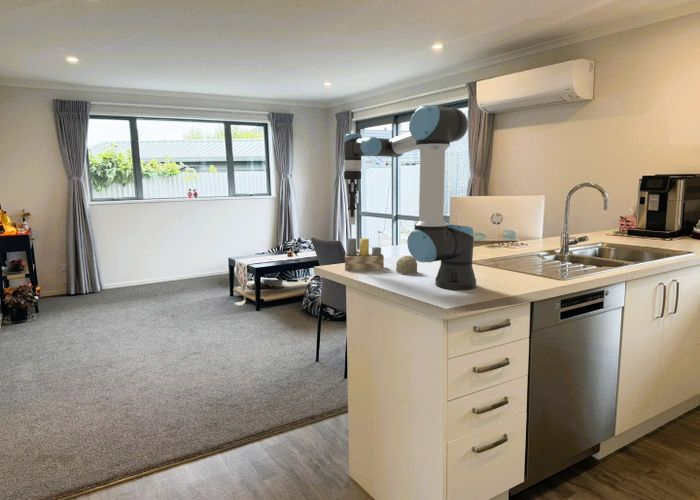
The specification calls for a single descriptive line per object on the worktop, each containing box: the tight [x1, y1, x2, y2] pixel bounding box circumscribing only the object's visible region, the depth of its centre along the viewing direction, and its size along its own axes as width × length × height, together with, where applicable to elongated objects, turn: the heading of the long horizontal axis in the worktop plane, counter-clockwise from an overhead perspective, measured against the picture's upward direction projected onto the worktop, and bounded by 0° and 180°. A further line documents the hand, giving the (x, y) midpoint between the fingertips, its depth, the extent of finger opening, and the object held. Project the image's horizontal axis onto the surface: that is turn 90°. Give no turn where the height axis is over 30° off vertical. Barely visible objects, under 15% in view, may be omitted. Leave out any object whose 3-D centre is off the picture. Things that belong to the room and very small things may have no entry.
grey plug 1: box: [346, 237, 357, 256], centre depth 209 cm, size 4×4×9 cm
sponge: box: [395, 255, 418, 275], centre depth 201 cm, size 9×10×10 cm
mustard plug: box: [359, 238, 370, 256], centre depth 209 cm, size 4×4×9 cm
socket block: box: [344, 253, 385, 271], centre depth 210 cm, size 17×8×6 cm, turn 90°
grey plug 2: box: [371, 246, 382, 256], centre depth 209 cm, size 4×4×9 cm
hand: (352, 224), depth 207 cm, fingers closed
